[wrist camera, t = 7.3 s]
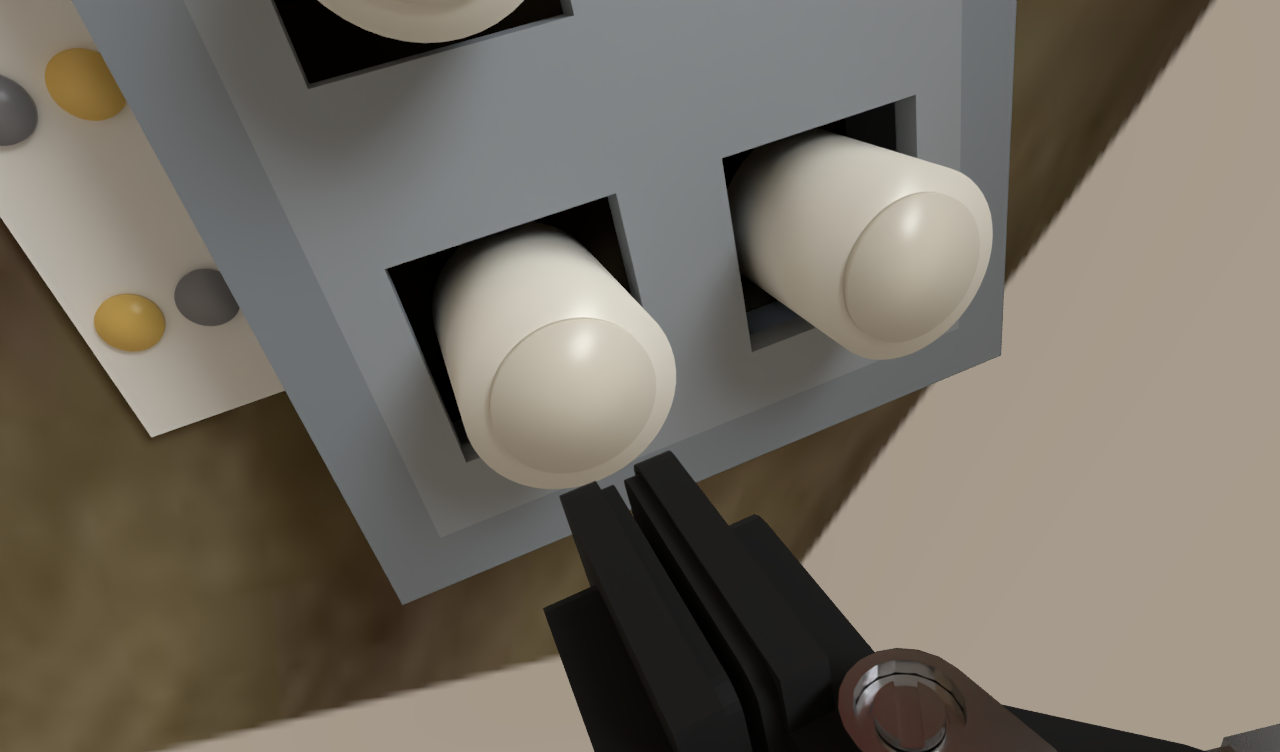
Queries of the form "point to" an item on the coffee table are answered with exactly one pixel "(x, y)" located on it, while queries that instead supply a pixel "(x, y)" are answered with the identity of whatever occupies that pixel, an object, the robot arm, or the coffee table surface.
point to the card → (114, 228)
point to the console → (540, 186)
